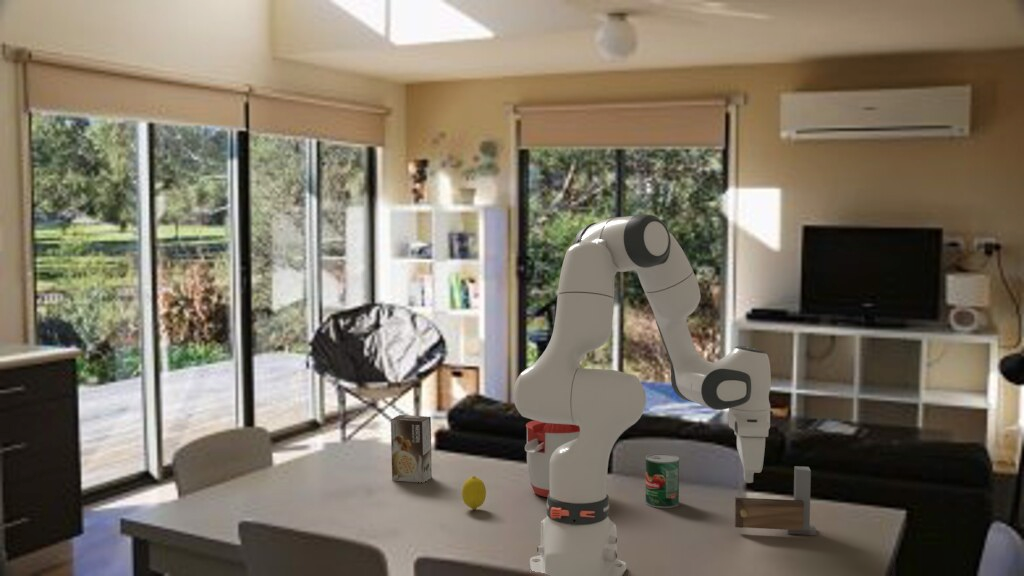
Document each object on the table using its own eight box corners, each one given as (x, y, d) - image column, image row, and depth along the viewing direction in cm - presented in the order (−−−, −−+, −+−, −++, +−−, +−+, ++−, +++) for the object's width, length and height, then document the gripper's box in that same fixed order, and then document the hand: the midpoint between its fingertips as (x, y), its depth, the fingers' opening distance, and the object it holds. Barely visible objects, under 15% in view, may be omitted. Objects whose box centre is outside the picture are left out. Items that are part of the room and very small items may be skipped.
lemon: (482, 514, 220) (482, 479, 219) (459, 512, 221) (459, 478, 221) (488, 507, 226) (488, 473, 225) (465, 505, 227) (465, 472, 226)
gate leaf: (804, 533, 202) (804, 505, 202) (735, 529, 205) (736, 502, 204) (801, 528, 206) (802, 500, 205) (734, 524, 208) (735, 497, 208)
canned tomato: (683, 501, 230) (684, 456, 229) (671, 510, 223) (672, 463, 222) (652, 496, 234) (653, 451, 233) (639, 504, 227) (640, 459, 226)
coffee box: (433, 477, 251) (432, 416, 250) (423, 483, 245) (423, 421, 244) (400, 474, 254) (399, 414, 252) (390, 480, 248) (389, 419, 246)
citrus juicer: (507, 493, 237) (507, 412, 235) (557, 480, 248) (558, 403, 246) (551, 507, 225) (551, 423, 223) (602, 493, 236) (603, 413, 235)
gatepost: (816, 535, 206) (818, 470, 205) (787, 533, 207) (789, 469, 205) (813, 529, 210) (815, 465, 208) (785, 527, 211) (786, 464, 209)
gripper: (730, 408, 223) (730, 467, 224) (738, 430, 202) (737, 494, 204) (758, 409, 222) (757, 468, 223) (769, 431, 201) (768, 495, 203)
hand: (748, 481), depth 213 cm, fingers closed
